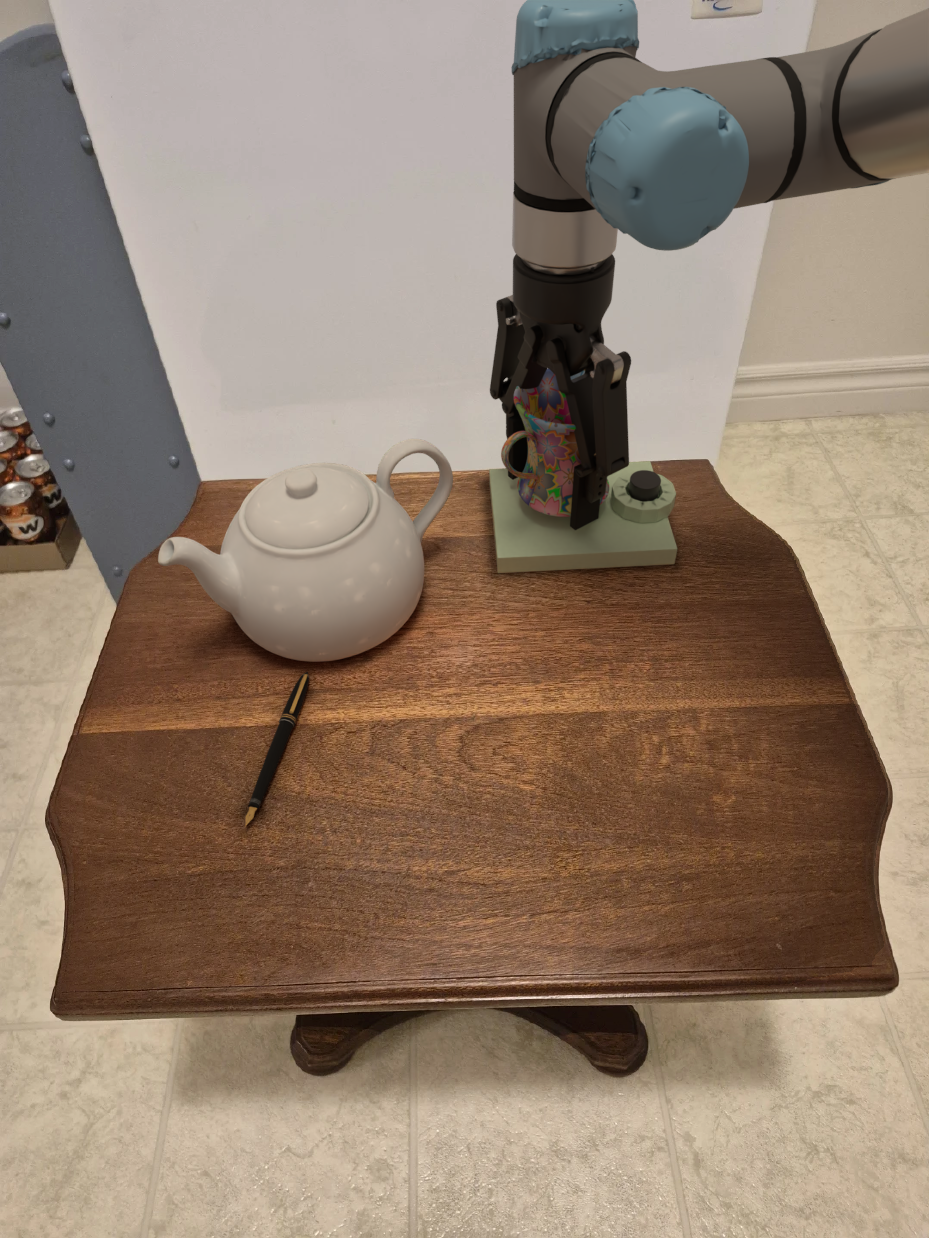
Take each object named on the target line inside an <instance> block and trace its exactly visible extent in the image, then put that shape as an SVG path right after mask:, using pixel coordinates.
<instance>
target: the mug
mask: <svg viewBox="0 0 929 1238" xmlns="http://www.w3.org/2000/svg"><path fill="white" fill-rule="evenodd" d="M584 373H585V370H584V371H582V372H580V373H578V374H576V375H573V376H571V380H572V379H574V378H576V377H579V376H581V375H583V374H584ZM514 403H515V406H516V408H517V410H518V412H519V414H520V416H521V418H522V421H523V424H524V427H525V431H519V432H516V433H514V434H513V435H511V436H510V437H509V438H508V439H507V438H506V440H505V442H504V443H503V445H502V448H501V451H500V458H501V461H502V464H503V466H504V468H506V469H507V470H508V471H509V472H511V473H512V474H513V475H515V476H517V477H519V480H518V484H517V487H518V492H519V495H520V497H521V498H522V500H523V501H524V502H525V503H526V504H527V505H528V506H530V507H531V508H532V509H534V510H536V511H538V512H541V513H543V514H547V515H551V516H558V517H571V504H572V490H573V476H574V467H575V466H577V465H579V464H581V460H580V456H579V452H578V447H577V443H576V439H575V434H574V431H575V429H576V427H575V425H574V424H572V421H571V417H570V413H569V408H568V404H567V400H566V396H565V394H564V393H561V392H560V391H559V388H558V384H557V380H556V376H555V374H554V373H553V372H552V371H551V370H550V369H549V368H547V370H546V372H545V374H544V376H543V378H542V381H541V383H540V385H539V386H538V387H536V388H532V389H520V388H519V386H517V387H516V389H515V391H514ZM523 437H527V442H528V455H527V462H526V465H525V468H524V470H523V472H518V471H516V470H515V469H513V468H512V466H511V465H510V463H509V460H508V454H509V451H510V448H511V447H512V445H513V444H514V443H515V442H516V441H517V440H519V439H520V438H523ZM594 455H596V453H595V454H594ZM608 493H609V482H608V479H607V484H606V493H605V495H604V497H602V498H600V505H601V504H602V503H603V502H604V501H605V499H606V498H607V496H608Z"/></svg>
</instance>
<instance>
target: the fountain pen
mask: <svg viewBox="0 0 929 1238" xmlns="http://www.w3.org/2000/svg"><path fill="white" fill-rule="evenodd" d="M309 683H310V676H309V671H308V670H307V671H306V672H304V673H303V674H301V675H300V677H299V678H298V680H297V682H296V683H295V684H294V687H293V689H292V691H291V692H290V695H289V697H288V699H287V701H286V703H285V706H284V708H283V711H282V713H281V716H280V718H279V720H278V725H277V728H276V730H275V733H274V736H273V738H272V740H271V743H270V745H269V748H268V750H267V753H266V755H265V759H264V760H263V764H262V766H261V769H260V773H259V774H258V777H257V780H256V782H255V785H254V788H253V791H252V794H251V797H250V799H249V803H248V804H247V808H248V811H247V813H246V815H245V816H244V818H245V819H244V820H245V826H244V828H246V827H247V825H248V824H249V823H251V821H252V820H253V819H254V816H255V813H256V811H259V809H260V807H261V804H262V803H263V800H264V798H265V795H266V793H267V790H268V788H269V786H270V784H271V782H272V779H273V777H274V775H275V772H276V770H277V767H278V765H279V762H280V760H281V759H282V756H283V753H284V751H285V749H286V746H287V743H288V741H289V738H290V736H291V733H292V731H293V729H294V728H295V726H296V724H297V720H298V718H299V715H300V713H301V710H302V707H303V704H304V701H305V698H306V695H307V692H308V686H309Z"/></svg>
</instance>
